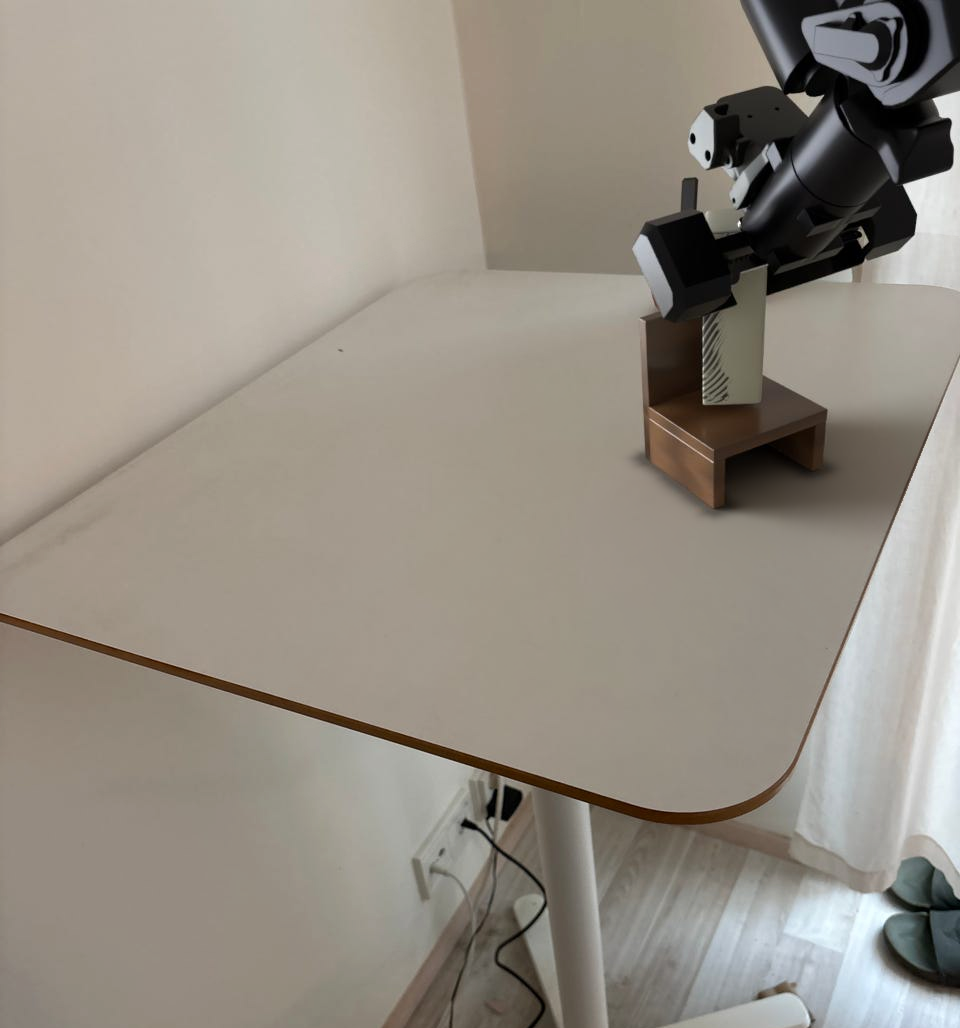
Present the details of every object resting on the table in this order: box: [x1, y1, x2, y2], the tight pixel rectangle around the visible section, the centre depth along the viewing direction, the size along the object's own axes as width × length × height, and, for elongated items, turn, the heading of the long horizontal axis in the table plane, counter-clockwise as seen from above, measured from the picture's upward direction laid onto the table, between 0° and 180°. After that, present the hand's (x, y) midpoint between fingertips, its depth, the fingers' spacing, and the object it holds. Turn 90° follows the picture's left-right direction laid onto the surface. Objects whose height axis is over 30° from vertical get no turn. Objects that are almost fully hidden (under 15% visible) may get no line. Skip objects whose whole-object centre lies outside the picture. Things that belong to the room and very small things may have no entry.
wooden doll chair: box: [638, 310, 829, 509], centre depth 73 cm, size 10×10×12 cm
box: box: [703, 207, 767, 405], centre depth 69 cm, size 5×4×13 cm
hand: (724, 302), depth 70 cm, fingers closed on box, 6 cm apart
